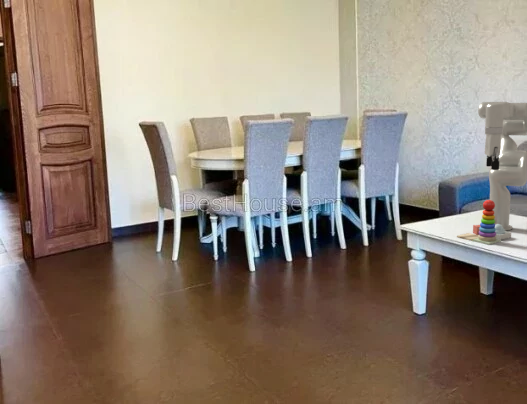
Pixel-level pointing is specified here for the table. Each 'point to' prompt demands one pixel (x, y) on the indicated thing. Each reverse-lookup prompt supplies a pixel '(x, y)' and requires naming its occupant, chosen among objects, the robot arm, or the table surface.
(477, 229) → the die
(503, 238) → the popper housing
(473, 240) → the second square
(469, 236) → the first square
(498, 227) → the dome
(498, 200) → the robot arm
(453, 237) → the table surface
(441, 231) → the table surface
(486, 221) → the stacking toy
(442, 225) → the table surface
